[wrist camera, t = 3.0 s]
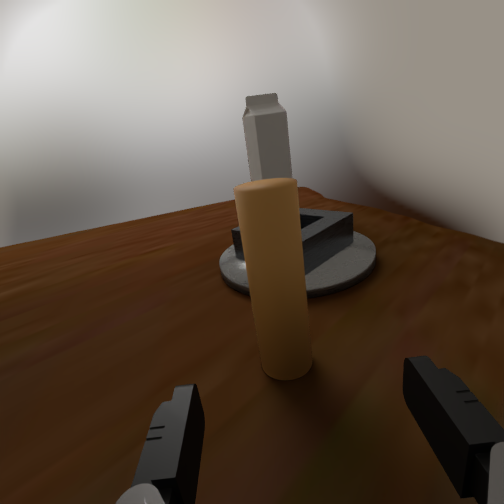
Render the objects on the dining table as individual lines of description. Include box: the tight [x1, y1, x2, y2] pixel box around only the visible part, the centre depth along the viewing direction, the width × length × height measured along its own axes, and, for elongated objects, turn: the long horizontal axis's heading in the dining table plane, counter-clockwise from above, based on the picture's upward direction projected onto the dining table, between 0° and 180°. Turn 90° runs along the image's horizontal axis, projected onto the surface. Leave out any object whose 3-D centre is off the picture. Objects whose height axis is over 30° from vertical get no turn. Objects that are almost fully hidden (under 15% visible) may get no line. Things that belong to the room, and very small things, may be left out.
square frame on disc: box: [220, 208, 376, 298], centre depth 42 cm, size 20×20×6 cm
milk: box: [243, 93, 292, 182], centre depth 60 cm, size 6×6×22 cm
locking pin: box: [234, 178, 312, 380], centre depth 23 cm, size 4×4×14 cm
